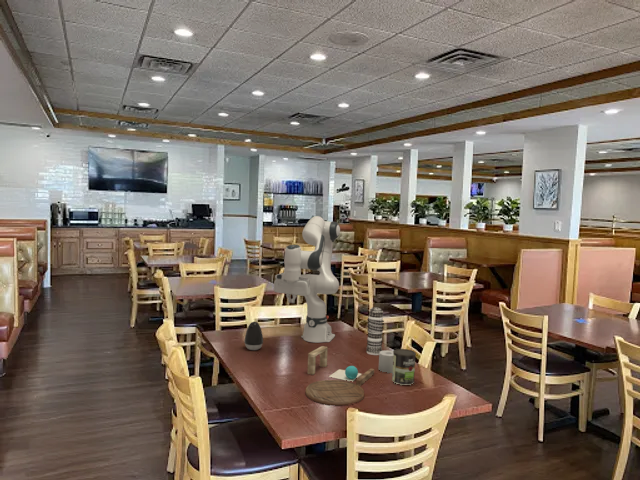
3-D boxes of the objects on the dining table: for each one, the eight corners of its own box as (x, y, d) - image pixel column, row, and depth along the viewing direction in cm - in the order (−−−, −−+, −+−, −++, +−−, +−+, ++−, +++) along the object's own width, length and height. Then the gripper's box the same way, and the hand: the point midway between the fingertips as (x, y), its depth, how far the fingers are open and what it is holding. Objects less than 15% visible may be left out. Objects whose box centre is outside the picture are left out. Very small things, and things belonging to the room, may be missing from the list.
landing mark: (339, 369, 236) (339, 369, 236) (361, 374, 230) (362, 373, 230) (328, 376, 225) (328, 376, 225) (352, 381, 220) (352, 381, 219)
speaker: (240, 350, 261) (241, 322, 260) (250, 345, 271) (251, 318, 270) (256, 352, 257) (257, 325, 256) (266, 347, 267) (267, 321, 266)
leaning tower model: (364, 354, 262) (366, 309, 260) (367, 349, 271) (369, 305, 269) (381, 356, 260) (383, 310, 258) (383, 351, 269) (385, 307, 267)
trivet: (373, 404, 196) (373, 399, 196) (314, 409, 189) (314, 404, 189) (352, 382, 220) (352, 378, 220) (299, 386, 213) (299, 381, 213)
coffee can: (418, 384, 220) (420, 354, 219) (400, 387, 215) (402, 356, 214) (405, 376, 229) (406, 347, 228) (387, 379, 224) (388, 350, 224)
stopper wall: (370, 373, 232) (370, 368, 231) (373, 374, 231) (374, 369, 231) (355, 385, 216) (356, 379, 215) (360, 386, 215) (360, 380, 214)
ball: (352, 378, 227) (344, 368, 228) (362, 372, 225) (354, 361, 226) (348, 383, 221) (340, 372, 222) (358, 376, 219) (350, 365, 220)
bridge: (307, 373, 228) (308, 353, 227) (321, 364, 242) (322, 346, 241) (313, 374, 227) (313, 354, 226) (326, 366, 240) (327, 347, 240)
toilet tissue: (403, 375, 231) (404, 358, 230) (376, 371, 235) (377, 354, 234) (406, 369, 239) (407, 353, 238) (380, 366, 244) (381, 349, 243)
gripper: (312, 277, 247) (311, 304, 248) (278, 273, 256) (278, 299, 257) (307, 279, 241) (306, 306, 242) (272, 275, 250) (271, 301, 251)
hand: (291, 302), depth 249 cm, fingers closed
